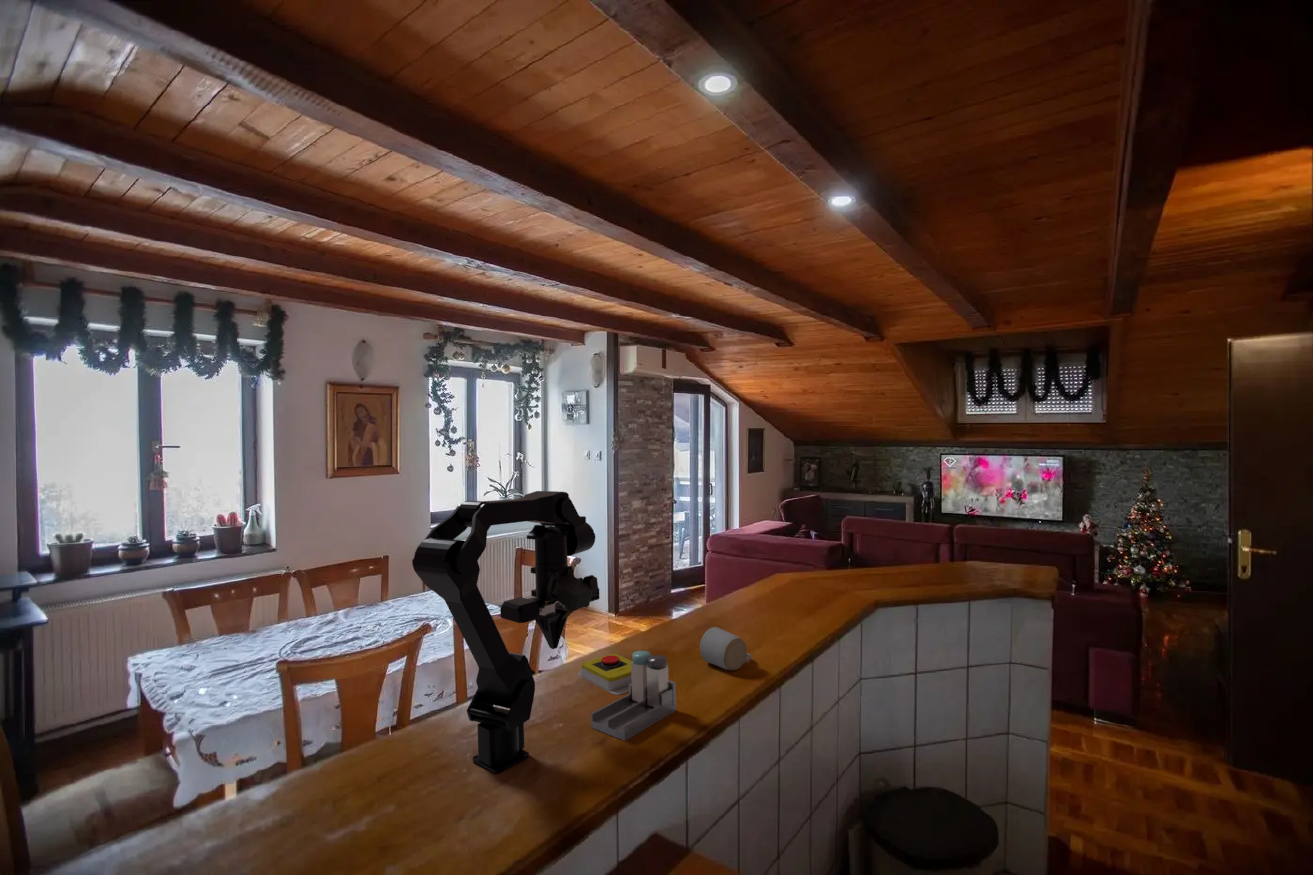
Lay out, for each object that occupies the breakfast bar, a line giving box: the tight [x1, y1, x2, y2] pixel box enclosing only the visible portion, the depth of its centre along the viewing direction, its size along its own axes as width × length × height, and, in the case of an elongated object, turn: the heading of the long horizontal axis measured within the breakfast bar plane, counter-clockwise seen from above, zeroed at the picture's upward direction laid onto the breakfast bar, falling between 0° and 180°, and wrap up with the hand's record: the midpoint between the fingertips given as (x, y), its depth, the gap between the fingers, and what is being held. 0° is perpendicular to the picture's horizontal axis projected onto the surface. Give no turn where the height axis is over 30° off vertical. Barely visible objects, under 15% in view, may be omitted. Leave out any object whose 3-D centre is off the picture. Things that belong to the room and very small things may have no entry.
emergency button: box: [577, 653, 633, 696], centre depth 129 cm, size 9×4×15 cm
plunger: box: [631, 650, 652, 702], centre depth 115 cm, size 3×3×8 cm
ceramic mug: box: [699, 626, 752, 671], centre depth 135 cm, size 11×8×8 cm
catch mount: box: [590, 654, 677, 742], centre depth 110 cm, size 14×8×10 cm, turn 141°
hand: (553, 648), depth 110 cm, fingers closed
